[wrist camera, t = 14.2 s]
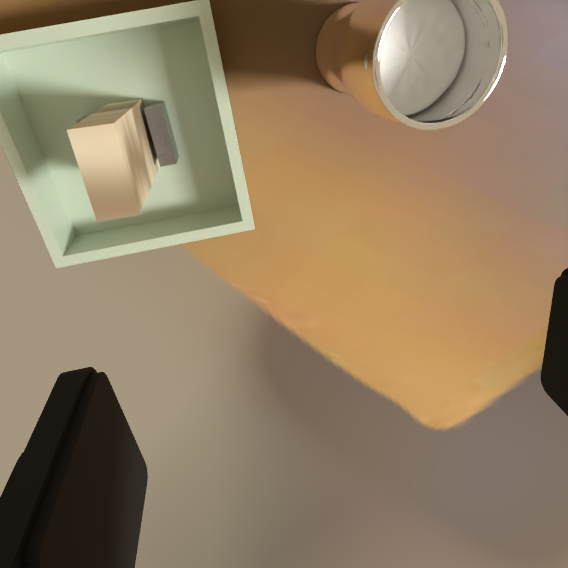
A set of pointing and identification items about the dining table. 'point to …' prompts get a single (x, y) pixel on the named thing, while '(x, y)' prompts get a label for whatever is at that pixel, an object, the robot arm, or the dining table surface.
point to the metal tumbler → (415, 57)
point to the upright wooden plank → (116, 158)
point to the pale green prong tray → (114, 88)
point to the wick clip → (160, 133)
